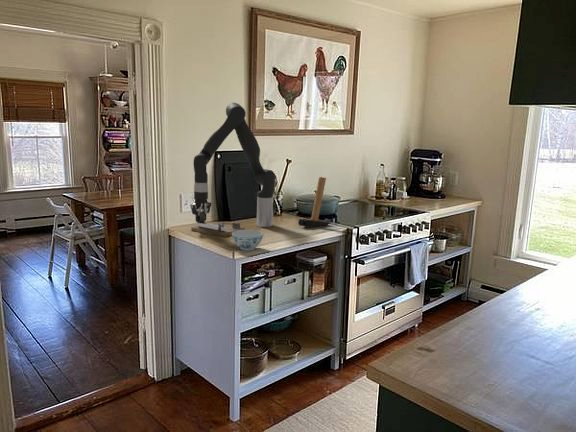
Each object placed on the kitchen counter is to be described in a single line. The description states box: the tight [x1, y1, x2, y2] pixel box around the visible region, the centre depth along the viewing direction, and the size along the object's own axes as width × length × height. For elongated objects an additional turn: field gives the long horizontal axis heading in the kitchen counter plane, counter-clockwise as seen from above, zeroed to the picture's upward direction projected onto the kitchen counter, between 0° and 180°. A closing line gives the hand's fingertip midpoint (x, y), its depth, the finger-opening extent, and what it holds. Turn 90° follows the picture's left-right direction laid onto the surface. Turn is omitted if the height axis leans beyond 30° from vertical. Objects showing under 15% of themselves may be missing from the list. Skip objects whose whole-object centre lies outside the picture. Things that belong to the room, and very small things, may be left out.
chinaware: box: [231, 229, 264, 252], centre depth 216 cm, size 15×15×8 cm
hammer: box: [298, 176, 332, 229], centre depth 268 cm, size 20×5×30 cm, turn 122°
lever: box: [196, 210, 226, 231], centre depth 247 cm, size 19×4×8 cm, turn 56°
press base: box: [190, 221, 246, 238], centre depth 252 cm, size 17×24×5 cm
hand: (201, 221), depth 251 cm, fingers closed on lever, 4 cm apart
